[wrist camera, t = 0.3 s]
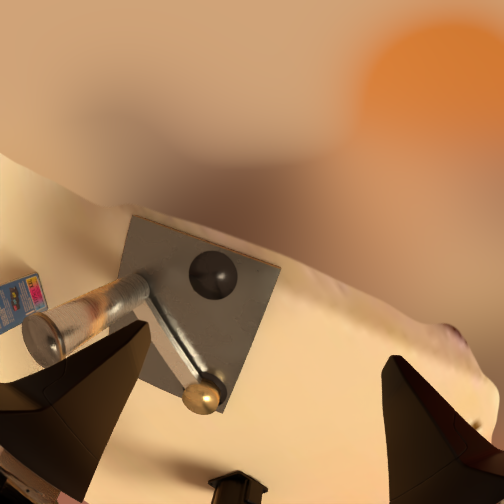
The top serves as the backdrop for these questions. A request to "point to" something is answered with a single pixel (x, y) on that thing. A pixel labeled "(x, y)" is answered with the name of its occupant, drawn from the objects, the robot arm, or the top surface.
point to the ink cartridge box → (20, 301)
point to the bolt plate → (197, 302)
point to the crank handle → (102, 316)
